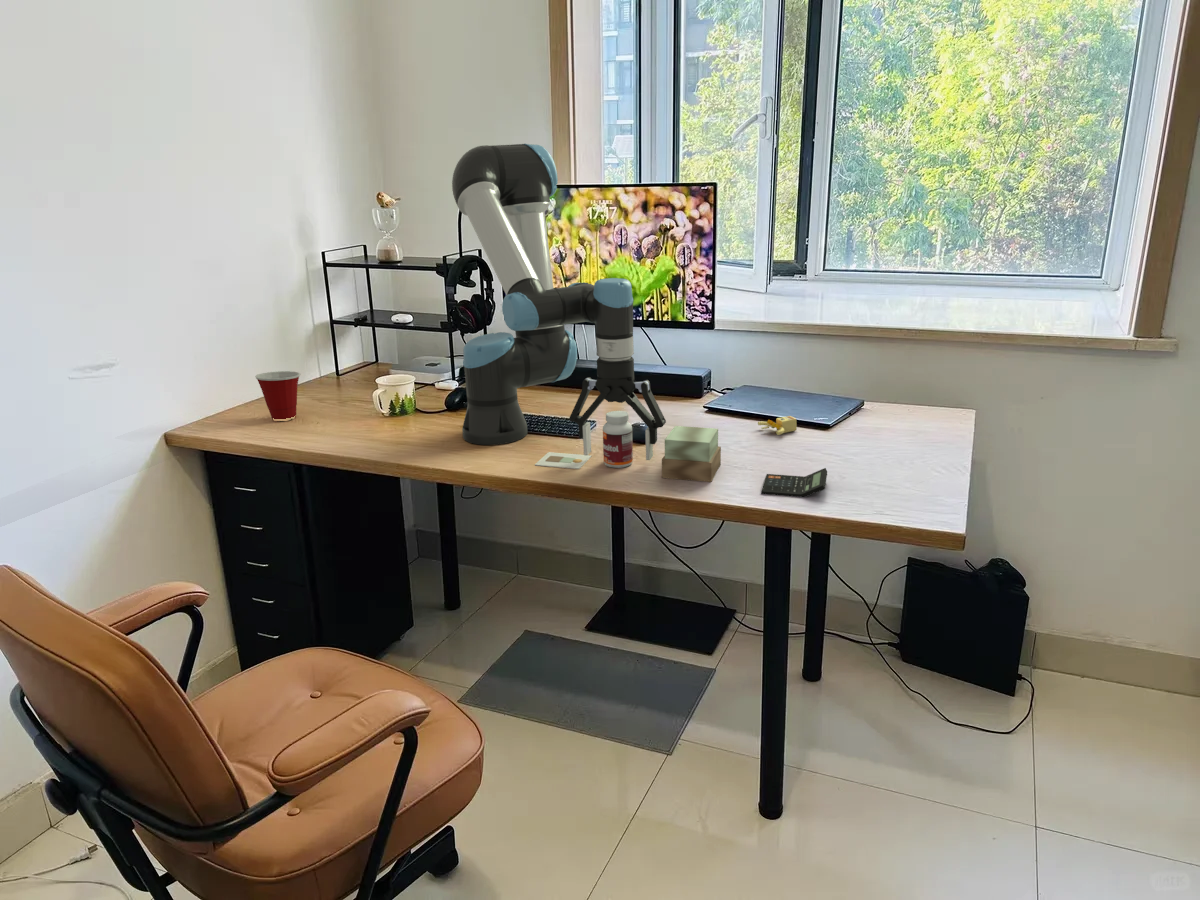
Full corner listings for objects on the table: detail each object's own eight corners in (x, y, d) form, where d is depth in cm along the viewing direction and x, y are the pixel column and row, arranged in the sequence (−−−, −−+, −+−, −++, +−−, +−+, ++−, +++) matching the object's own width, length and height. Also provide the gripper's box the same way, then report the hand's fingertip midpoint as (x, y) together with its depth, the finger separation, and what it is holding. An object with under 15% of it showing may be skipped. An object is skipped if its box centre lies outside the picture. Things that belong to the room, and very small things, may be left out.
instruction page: (534, 465, 181) (534, 464, 181) (548, 452, 188) (548, 451, 188) (579, 469, 178) (579, 467, 178) (591, 456, 185) (591, 455, 185)
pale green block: (662, 477, 171) (661, 440, 169) (673, 461, 180) (673, 425, 178) (711, 482, 168) (711, 443, 166) (720, 464, 177) (721, 428, 175)
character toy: (755, 416, 197) (785, 411, 200) (755, 429, 198) (784, 424, 201) (772, 425, 190) (803, 421, 192) (772, 439, 191) (802, 434, 193)
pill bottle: (597, 464, 180) (595, 414, 177) (618, 456, 184) (617, 407, 181) (618, 471, 176) (616, 420, 172) (639, 463, 180) (638, 413, 176)
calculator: (766, 477, 170) (767, 463, 169) (826, 482, 167) (827, 467, 166) (761, 495, 162) (761, 480, 161) (824, 500, 159) (825, 485, 158)
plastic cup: (316, 415, 222) (309, 370, 219) (283, 426, 214) (276, 380, 210) (286, 410, 227) (279, 366, 223) (253, 422, 218) (245, 376, 214)
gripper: (550, 358, 173) (556, 457, 180) (670, 363, 165) (671, 466, 172) (563, 350, 180) (568, 445, 187) (679, 355, 172) (680, 454, 179)
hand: (618, 455), depth 180 cm, fingers open, 13 cm apart
